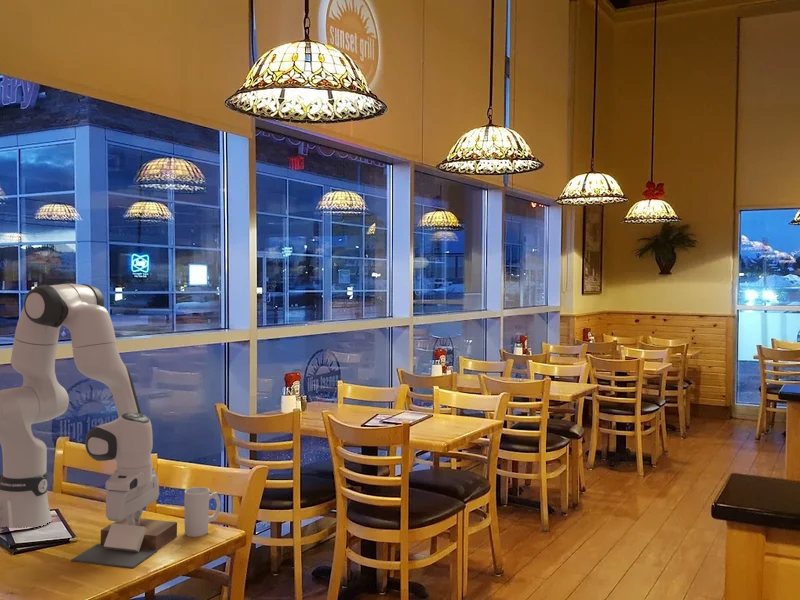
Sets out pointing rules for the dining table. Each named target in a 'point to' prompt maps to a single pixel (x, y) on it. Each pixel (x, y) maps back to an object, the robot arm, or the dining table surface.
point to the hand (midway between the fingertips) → (133, 527)
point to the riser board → (150, 532)
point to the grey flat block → (125, 537)
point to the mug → (199, 510)
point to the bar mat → (113, 556)
